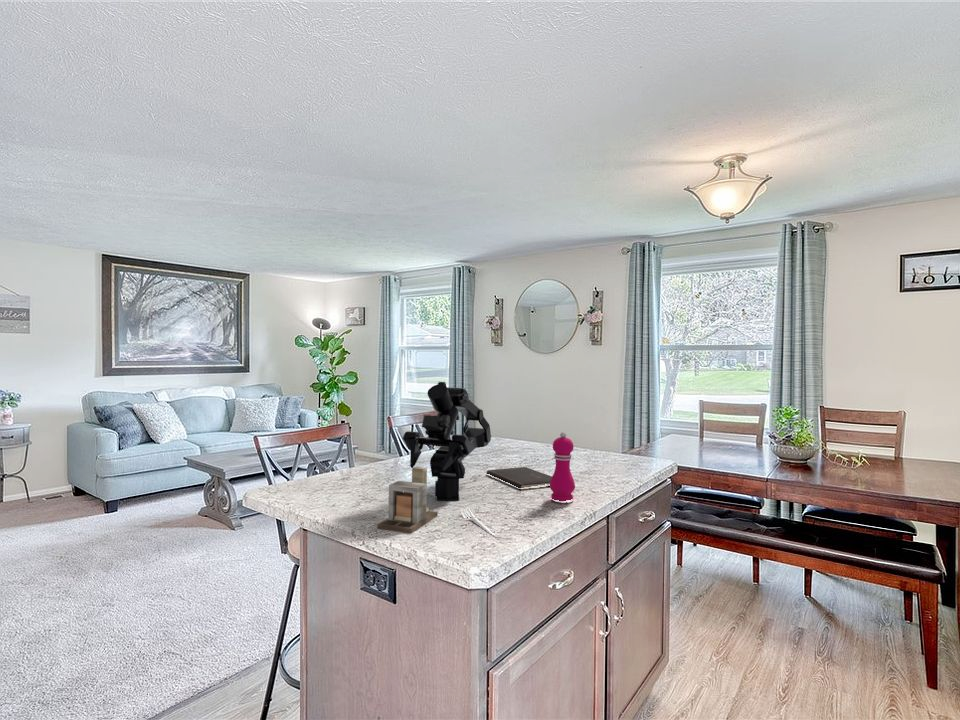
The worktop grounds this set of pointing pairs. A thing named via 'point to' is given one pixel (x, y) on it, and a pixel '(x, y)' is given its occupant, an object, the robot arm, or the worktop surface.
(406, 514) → the beige orange stepped block
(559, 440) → the pepper mill
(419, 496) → the tunnel
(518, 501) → the worktop surface
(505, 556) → the worktop surface
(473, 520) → the fork
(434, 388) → the robot arm
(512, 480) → the hardcover book
